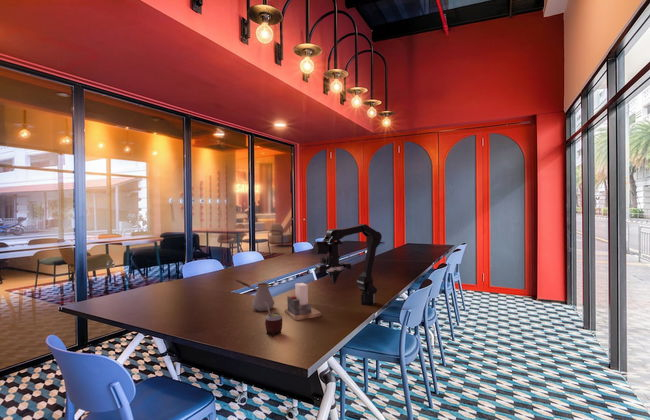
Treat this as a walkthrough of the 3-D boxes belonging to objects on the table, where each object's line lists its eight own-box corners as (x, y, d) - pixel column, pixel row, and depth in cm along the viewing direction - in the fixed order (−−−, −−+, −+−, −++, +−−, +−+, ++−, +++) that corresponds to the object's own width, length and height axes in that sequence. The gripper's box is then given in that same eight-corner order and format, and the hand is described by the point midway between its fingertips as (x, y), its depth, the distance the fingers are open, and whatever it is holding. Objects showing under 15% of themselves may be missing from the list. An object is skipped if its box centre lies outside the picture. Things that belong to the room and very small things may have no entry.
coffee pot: (277, 306, 183) (277, 278, 182) (270, 312, 171) (269, 282, 171) (239, 304, 186) (239, 277, 186) (230, 311, 175) (229, 281, 175)
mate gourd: (283, 330, 146) (282, 295, 146) (281, 337, 138) (281, 300, 138) (265, 331, 145) (265, 295, 145) (262, 338, 138) (262, 300, 137)
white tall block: (303, 308, 171) (302, 282, 171) (307, 311, 166) (307, 285, 166) (295, 309, 170) (295, 283, 169) (300, 312, 164) (299, 285, 164)
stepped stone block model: (309, 308, 177) (309, 290, 177) (321, 316, 165) (320, 296, 165) (284, 312, 171) (284, 293, 171) (295, 320, 159) (294, 300, 159)
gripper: (341, 250, 187) (342, 279, 187) (310, 253, 179) (311, 282, 179) (352, 252, 177) (352, 283, 177) (319, 255, 169) (320, 287, 169)
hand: (334, 283), depth 176 cm, fingers closed
